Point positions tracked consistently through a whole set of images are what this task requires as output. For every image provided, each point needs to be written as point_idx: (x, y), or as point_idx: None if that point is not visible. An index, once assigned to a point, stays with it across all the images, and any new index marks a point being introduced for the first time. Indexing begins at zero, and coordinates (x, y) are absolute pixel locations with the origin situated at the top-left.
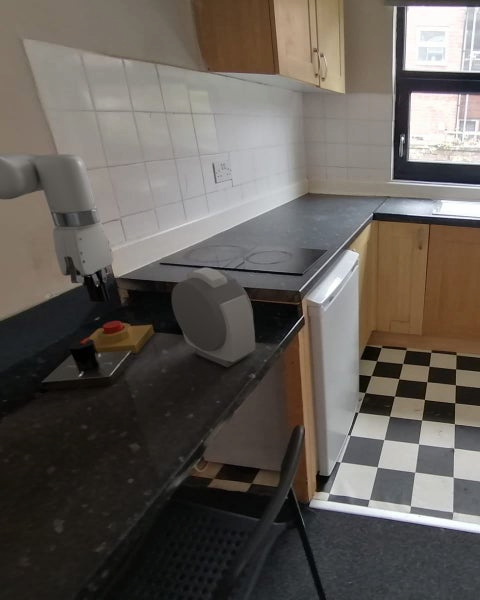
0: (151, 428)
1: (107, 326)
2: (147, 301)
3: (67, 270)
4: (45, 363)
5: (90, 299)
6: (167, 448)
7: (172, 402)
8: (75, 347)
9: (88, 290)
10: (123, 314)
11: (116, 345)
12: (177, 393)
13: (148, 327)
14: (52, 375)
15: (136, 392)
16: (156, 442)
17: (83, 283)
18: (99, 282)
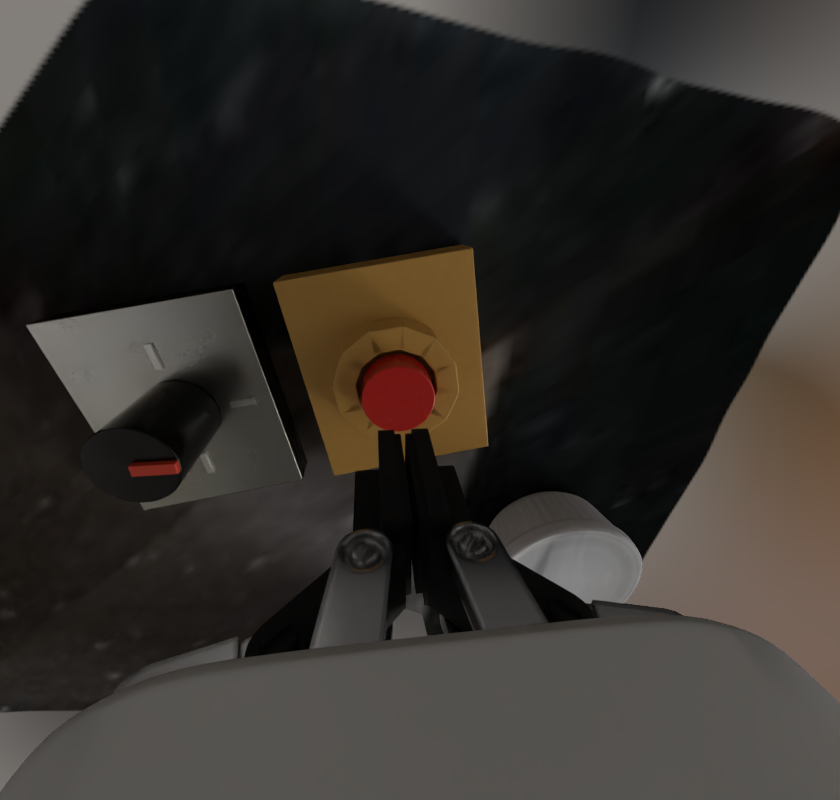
0: (47, 643)
1: (375, 395)
2: (804, 235)
3: (198, 724)
4: (216, 149)
5: (379, 434)
6: (13, 686)
7: (140, 634)
8: (96, 465)
9: (380, 486)
10: (681, 202)
11: (323, 421)
12: (173, 628)
13: (465, 446)
14: (78, 332)
15: (148, 558)
16: (17, 667)
17: (306, 592)
18: (427, 588)
